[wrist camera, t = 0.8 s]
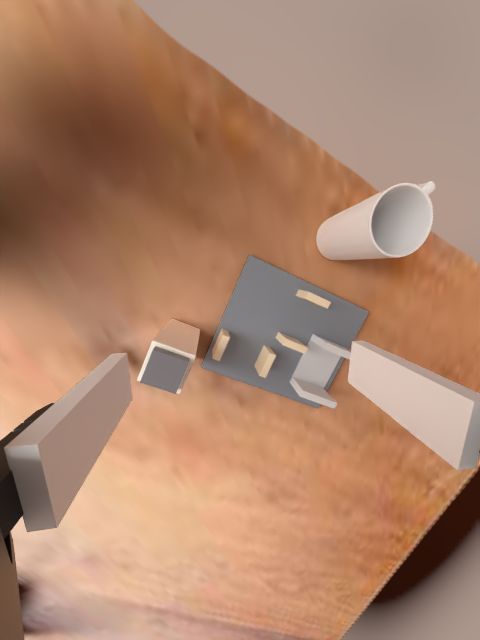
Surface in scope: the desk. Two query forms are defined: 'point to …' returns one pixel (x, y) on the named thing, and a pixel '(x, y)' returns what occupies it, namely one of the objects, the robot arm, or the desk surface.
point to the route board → (283, 335)
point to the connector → (170, 356)
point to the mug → (380, 225)
